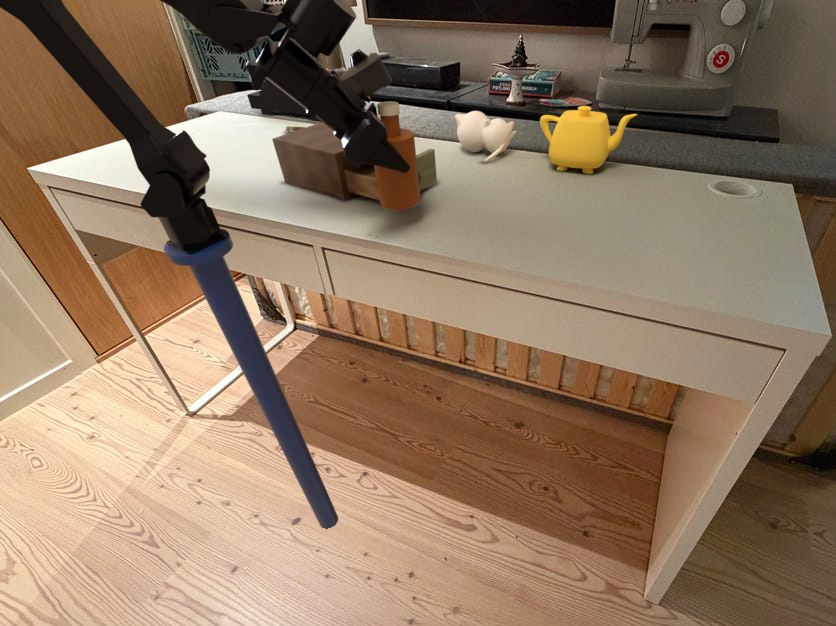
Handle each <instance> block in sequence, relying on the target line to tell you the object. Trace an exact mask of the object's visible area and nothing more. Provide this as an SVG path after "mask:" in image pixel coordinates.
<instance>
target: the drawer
mask: <svg viewBox="0 0 836 626" xmlns="http://www.w3.org/2000/svg"><path fill="white" fill-rule="evenodd" d="M435 151H436V150H435V149H434V148H429V149H427V150H424V151H422V152H420V153H418V154H416V161H417V171H418V181H419V192H421V191H422V190H424V189H426V188H428V187H429V186H432V185H433V184H435V183H436V182H438V177H437V165H436V164H437V163H436V153H435ZM340 160H341V164H342V169H343V174H344V178H345V183H346V188H347V191H348V192H352V193H355V194H357V195H359V196H362V197H366V198H369V199H373V200H375V201H376V200H377V201H380V199H379V193H378V186H377V180H376V174H375V167H374V165H370V164H365V163H364V164H362V165H361V166H359V167H356V166H355V165H354V164H352V163H351V162H350V161H349V160H347V159H346V157H342V158H340ZM382 208H383V209H386V210H389V209H388V208H385V207H383V206H382Z"/></svg>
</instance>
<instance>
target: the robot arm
mask: <svg viewBox="0 0 836 626" xmlns="http://www.w3.org/2000/svg"><path fill="white" fill-rule="evenodd" d="M159 1H160V2H161V3H163V4H166V5H167V6H169V7H171V8H172V9H173V10H175V11H176V12H177V13H179V14H180V15H182V16H183V18H185V19H186V20H187V21H188V23H189V24H190V25H192V27H193V28H195V30H196V31H197V32H199V33H201V34H202V35H204V36H205V37H206V38H208V39H209V40H210V41H212V42H213V43H215V44H216V45H217V46H219V47H220V48H221V49H223V50H225V51H226V52H229V53H231V54H238V55H240V54H245V53H247V52H249V51H251V50H253V49H256V48H257V47H259V46H260V45H263V44H264V42H266V40H267V39H268V37H269V36H271V35H273V34H274V33H277V32H278V31H280V30H282V29H284V28H285V27H286V28H287V29H286V31H285V33H284V34H283V36H282V38H281V39H280V41H279V42H278V43H276V42H273V41H268V42H267V43H266V45H265V46H264V48H263V49H262V51H261V53H260V55H258V58H257V59H248V60H247V62H246V63H245V69H246V71H247V73H248V75H249V80H250V83H251V87H252V89H253V90H254V92H257V91H260V89H261V86H263V82H265V78H267V79H268V80H269V81H271V82H272V83H273V84H274V85H276V86H277V87H278V88H279V89H281V90H282V91H283V92H285V93H286V94H287V95H288V96H290V97H291V98H292V99H293V100H295V101H296V102H297V103H299V104H300V105H301V106H302V107H304V108H305V109H306V112H307V114H308V115H307V116H308V117H310V118H311V117H312V118H313V119H314V118H315V117H316V118H318V119H319V120H320V121H319V122H323V123H324V124H325V125H327V126H328V127H329V128H330V129H332V130H333V132H334V135H335V136H336V137H337V138H339V139H340V140H341V139H342V138H343V139H342V145H343V150H344V154H345V157H346V159H347V160H349V161H350V162H351V163H352V164H354V165H355V166H356V167H359V166H361V165H362V164H364V163H365V164H370V165H375V166H380V167H384V168H388V169H392V170H396V171H400V172H404V173H407V172H408V171H409V169H410V166H409V164H408V163H407V162H406V161H405V160H404V158H403V157H402V156H401V155H400V154H399V152H398V151H397V150H396V149H395V148H394V147H393V145H392V144H391V143H390V142H389V141H388V140H387V128H386V125H385V124H384V122H383V121H381V118H380V117H378V109H377V105H376V104H375V103H374V102H371V101H372V99H371V95H373V94H375V93H376V92H377V91H379V90H380V89H382V88H383V89H385V88H387V87H389V86H390V85H391V84H392V82H393V80H392V77H391V75H390V74H389V72H388V70H387V68H386V66H385V64H384V63H383V61H382V59H381V57H380V55H379V54H378V53H377V52H370V53H369V55H368V54H367V53H365V52H364V51H363V50H362V49H360V48H358V49H357V50H355V51H353V52H352V53H350V61H351V67H348V68H347V70H346V71H344V72H343V73H341V74H340V73H338V72H337V71H336V70H335V69H334V68H332V69H331V68H328V69H327V68H326V67H325V66H324V65H323V64H322V63H320V62H319V61H318V60H317V59H316V58H318V57H320V55H323V56H325V57H331V56H332V54H333V53H334V52H335V50H336V49H337V47H338V46H339V44H340V43H341V41H342V39H343V38H344V37H345V35H346V33H348V31H349V29H350V28H351V26H352V25H353V23H354V22H355V20H356V19H357V13H356V12H355V11H354V9H353V8H352V6H351V5H350V4H349V2H348V1H347V0H285V2H284V4H283V5H281V4H279V3H278V4H273V3H267V2H262V0H159ZM0 9H2V10H3V11H5V13H7V14H9V15H11V16H12V17H14V18H15V19H17V20H18V21H19V22H21V24H23V25H24V26H25V27H26V28H27V30H28V31H29V32H30V33H31V34H32V35H33V36H34V38H35V39H36V40H37V41H38V42H39V43H40V45H42V47H43V48H44V49H45V50H46V51H47V52H48V54H50V56H51V57H52V58H53V60H55V62H56V63H57V64H58V65H59V66H60V67H61V68H62V69H63V70H64V71H65V72H66V74H67V75H68V76H69V78H71V80H72V81H73V82H74V83H75V84H76V85H77V87H79V88H80V89H81V91H82V92H83V93H84V94H85V95H86V96H87V97H88V99H89V100H90V101H91V102H92V103H93V104H94V105H95V106H96V108H97V109H98V110H99V112H101V114H102V115H103V116H104V117H105V118H106V119H107V120H108V121H109V122H110V124H111V125H112V126H113V127H114V128H115V129H116V131H118V133H119V134H120V135H121V136H122V137H123V138H124V140H125V141H126V142H127V144H128V146H129V148H130V151H131V154H132V156H133V159H134V161H135V166H136V168H137V169H138V171H139V172H140V174H141V175H142V177H143V178H144V180H145V181H146V182H147V184H148V185H149V186H148V188H147V190H146V192H145V194H144V196H143V198H142V200H141V202H140V204H139V205H140V206H141V208H142V209H143V210H144V211H145V212H146V213H147V214H148V216H150V217H151V218H158V220H159V222H160V224H161V226H162V227H163V229H164V232H165V233H166V236H167V238H168V239H169V240H167V241H166V243H167V245H169V246H171V247H173V248H175V249H177V250H180V251H182V252H184V253H186V254H189V255H191V254H194V253H196V252H198V251H200V250H203V249H205V248H207V247H209V246H211V245H213V244H216V243H218V242H220V241H222V240H224V239H226V236H225V235H224V234H221V233H219V232H221V229H222V228H221V227H220V224H219V221H218V220H217V217H216V215H215V213H214V211H213V207H211V206H208V204H207V201H206V199H204V198H201V197H203V195H205V194H206V193H207V184H208V182H209V180H210V178H211V177H210V175H211V174H210V173H211V169H210V168H211V167H210V166H209V163H208V162H207V160H206V158H207V156H208V155H207V154H206V153H204V152H203V151H202V150H201V149H200V148H199V147H198V146H197V145H196V143H195V142H194V140H193V138H192V137H191V135H190V134H189V133H188V132H187V130H181V131H180V132H178V133H175V132H174V131H172V130H170V129H169V128H168V127H166V126H164V125H163V124H161V122H159V120H158V119H157V118H156V117H155V115H154V114H153V113H152V112H151V110H150V109H149V108H148V106H146V104H145V103H144V102H143V100H142V99H141V98H140V97H139V95H138V94H137V93H136V92H135V91H134V90H133V88H132V87H131V86H130V85H129V83H128V82H127V80H125V79H124V77H123V75H121V73H120V72H119V71H118V70H117V68H116V67H115V65H113V64H112V63H111V61H110V60H109V58H108V57H107V56H106V55H105V54H104V52H103V51H102V50H101V49H100V47H99V46H98V45H97V44H96V43H95V42H94V40H93V39H92V38H91V37H90V35H89V34H88V33H87V32H86V31H85V30H84V28H83V27H82V26H81V25H80V23H79V22H78V21H77V20H76V18H75V17H74V16H73V15H72V14H71V12H70V11H69V9H68V8H67V7H66V5H65V4H64V3H63V0H0ZM367 103H368V104H370V103H371V104H370V105H369V106H368V107H367V109H366V106H367ZM345 133H346V134H345ZM344 135H345V136H344ZM343 136H344V137H343ZM220 228H221V229H220ZM166 243H165V244H166Z"/></svg>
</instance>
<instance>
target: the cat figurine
mask: <svg viewBox="0 0 836 626" xmlns="http://www.w3.org/2000/svg"><path fill="white" fill-rule="evenodd" d="M454 119H455V121H456V124H457V129H456V134H457V139H458V141H459V143H460V145H461V146H462V147H463V148H464V149H465V150H467V151H468V152H470V153H479V152H480V151H483V150H484V149H486V150H487V151H488V152H490V153H491V154H489V155H488V156H487V157H486V158H485V159H484V160H483V163H485V164H486V163H488V162H490V161H492V160H493V159H495V158H496V157H497V156H498V155H499V154H502V153H503V152H505V150H506V149H507V148H508V147H509V144H510V143H511V140H512V139H513V138H514V137H515V136H516V134H517V130H513V129H514V126H515V121H514V120H512V121H510V122H506V121H505V120H504V118H500V117H496V118H492V119H490V118H488V116H487V115H486V114H485V113H484V112H482V111H480V110H472V111H470V112H467V113H457V114H455V115H454Z"/></svg>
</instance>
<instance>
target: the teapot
mask: <svg viewBox="0 0 836 626" xmlns="http://www.w3.org/2000/svg"><path fill="white" fill-rule="evenodd" d="M636 116H638V113H631V114H626V115H624V116H622V118H621V119H620V121H619V123H618V125H617V128H616V131H615V132H614V133H613V134H612V135H611V129H610V122H609V118H608V115H607V113H605V112H600V111H592V107H591V106H589V105H579V106H578V107H577V110H576V109H570V110H569V109H568V110H566V111H564V112H563V113H562V114H561V115H560V116H556V115H552V114H543V115H541V117H540V118H539V123H540V129H541V130H542V132H543V134H544V136H545V137H546V139H547V140H548V142H549V147H548V156H549V159H550V161H551V163H552V164H554V165H556V166H557V167H556V170H557V171H560V172H565V171H568V169H569V168H572V169H573V168H574V169H582V173H583V174H587V175H591V174H594V169H598V168H601V166H603V164H604V163H605V161H606V160H607V159H608V156H609V155H610V153H611V152H613V151H615V149H617V147H618V146H619V145H620V143H621V142H622V139H623V136H624V133H625V129H626V127H627V125H628V124H629V122H630V120H632V119H633V118H634V117H636ZM549 122H555V123H556V125H555V128H554V130H553V132H552V133H551V131H550V126H549Z"/></svg>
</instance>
